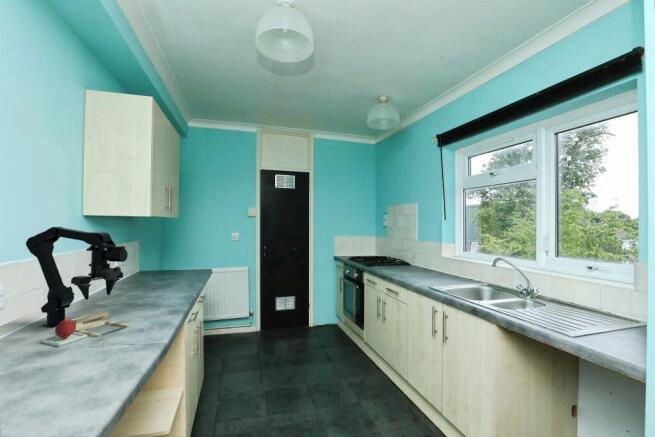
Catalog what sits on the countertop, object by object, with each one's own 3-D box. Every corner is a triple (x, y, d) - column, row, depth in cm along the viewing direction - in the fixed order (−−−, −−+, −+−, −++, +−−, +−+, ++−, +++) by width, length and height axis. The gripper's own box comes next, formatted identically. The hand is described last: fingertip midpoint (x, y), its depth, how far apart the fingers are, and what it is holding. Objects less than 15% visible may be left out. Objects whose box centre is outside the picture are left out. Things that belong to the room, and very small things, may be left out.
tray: (41, 342, 112) (41, 339, 112) (70, 334, 121) (70, 331, 121) (59, 346, 109) (59, 343, 109) (87, 337, 118) (87, 334, 118)
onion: (62, 342, 112) (63, 320, 112) (50, 340, 113) (51, 319, 113) (78, 337, 118) (79, 316, 118) (67, 335, 119) (67, 314, 119)
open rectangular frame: (70, 332, 124) (71, 319, 124) (103, 322, 136) (103, 311, 136) (97, 337, 119) (98, 324, 119) (129, 326, 132) (129, 315, 132)
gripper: (90, 265, 121) (88, 304, 121) (133, 260, 139) (131, 294, 139) (70, 263, 125) (69, 301, 125) (114, 258, 143) (113, 292, 142)
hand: (97, 297), depth 133 cm, fingers open, 9 cm apart
